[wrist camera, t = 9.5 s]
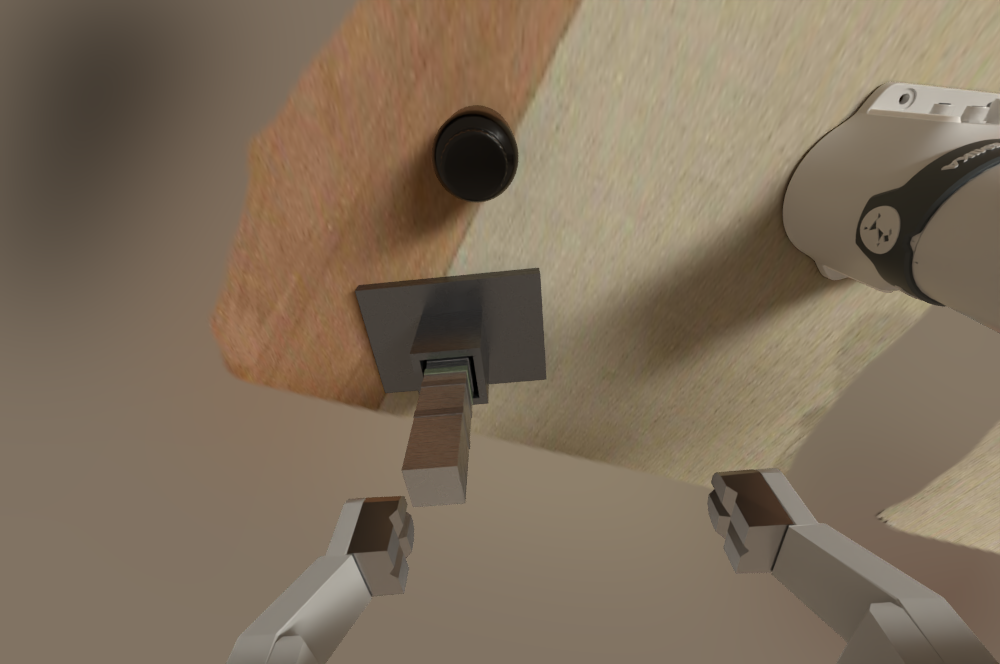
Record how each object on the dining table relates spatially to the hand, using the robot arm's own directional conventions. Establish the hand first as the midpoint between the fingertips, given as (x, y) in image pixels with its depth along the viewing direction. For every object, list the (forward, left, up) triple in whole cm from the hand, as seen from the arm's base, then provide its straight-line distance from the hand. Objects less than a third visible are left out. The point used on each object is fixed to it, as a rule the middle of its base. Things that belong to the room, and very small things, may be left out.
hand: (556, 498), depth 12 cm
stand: (+8, +16, -37) cm, 41 cm away
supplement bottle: (+3, -4, -37) cm, 37 cm away
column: (+8, +16, -30) cm, 35 cm away
